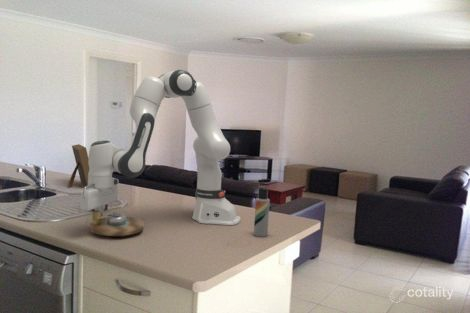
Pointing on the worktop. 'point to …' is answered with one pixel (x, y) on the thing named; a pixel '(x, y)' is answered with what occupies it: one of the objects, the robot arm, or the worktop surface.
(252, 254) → the worktop surface
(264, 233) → the lotion bottle
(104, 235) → the turntable base
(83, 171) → the photo frame
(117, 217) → the cover
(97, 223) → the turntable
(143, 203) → the worktop surface
